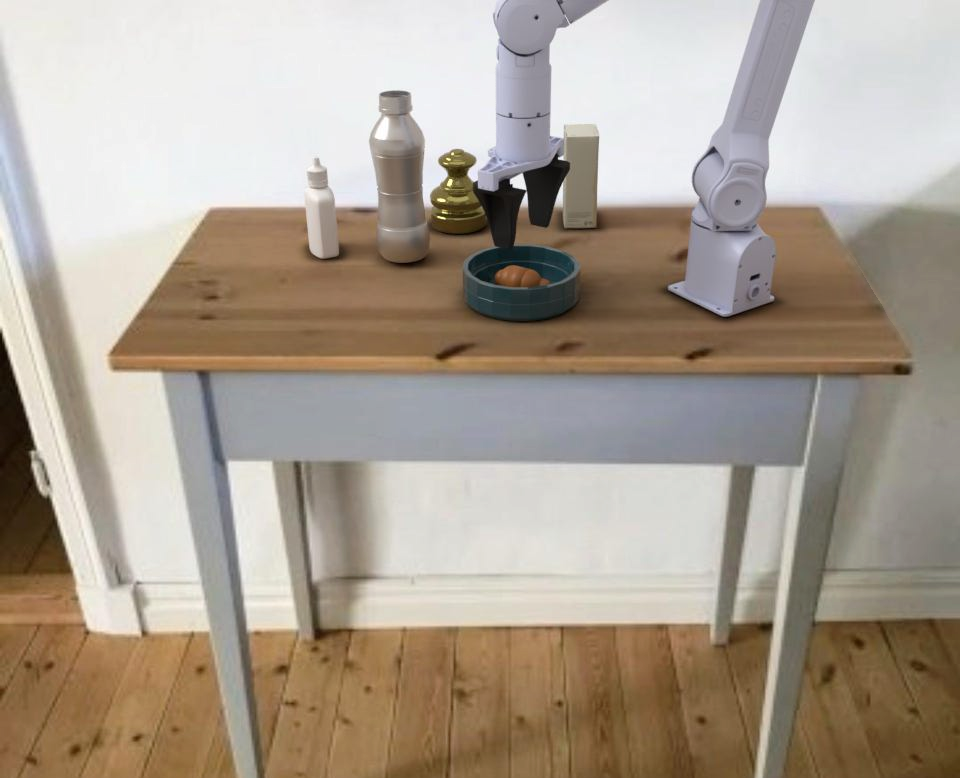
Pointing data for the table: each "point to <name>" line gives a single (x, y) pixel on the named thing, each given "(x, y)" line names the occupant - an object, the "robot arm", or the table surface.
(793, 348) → the table surface
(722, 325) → the table surface
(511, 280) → the croissant
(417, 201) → the plastic bottle
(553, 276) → the bowl
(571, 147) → the cosmetic box
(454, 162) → the gold tiered knob
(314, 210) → the eye dropper bottle
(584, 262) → the table surface
